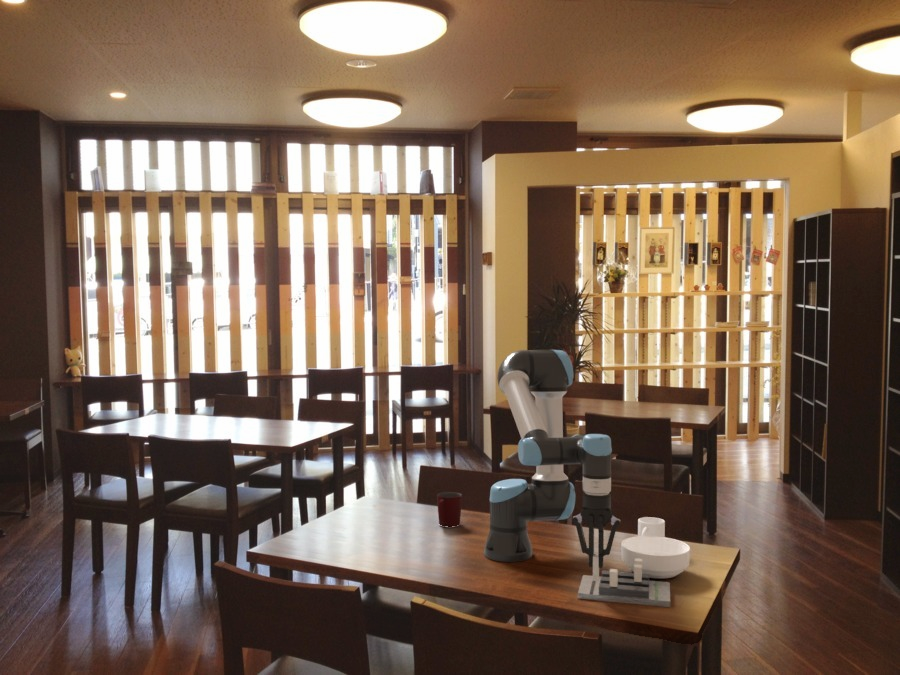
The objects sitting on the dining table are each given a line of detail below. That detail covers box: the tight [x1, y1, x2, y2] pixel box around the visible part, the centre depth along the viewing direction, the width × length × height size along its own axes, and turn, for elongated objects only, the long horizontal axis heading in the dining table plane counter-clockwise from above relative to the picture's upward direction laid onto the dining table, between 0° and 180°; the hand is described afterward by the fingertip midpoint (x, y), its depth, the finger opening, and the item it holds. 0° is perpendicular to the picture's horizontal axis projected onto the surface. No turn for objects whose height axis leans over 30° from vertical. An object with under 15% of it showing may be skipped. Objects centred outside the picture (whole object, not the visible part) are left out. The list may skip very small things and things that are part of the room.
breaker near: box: [609, 568, 619, 587], centre depth 215 cm, size 2×2×4 cm
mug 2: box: [637, 516, 666, 537], centre depth 255 cm, size 12×8×10 cm
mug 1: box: [436, 491, 463, 527], centre depth 286 cm, size 12×9×11 cm
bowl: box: [620, 535, 691, 579], centre depth 236 cm, size 20×20×8 cm
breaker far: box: [635, 558, 642, 565], centre depth 224 cm, size 2×2×4 cm
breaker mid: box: [633, 564, 642, 582], centre depth 219 cm, size 2×2×4 cm
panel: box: [577, 569, 671, 608], centre depth 220 cm, size 24×15×4 cm, turn 75°
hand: (595, 579), depth 216 cm, fingers closed
